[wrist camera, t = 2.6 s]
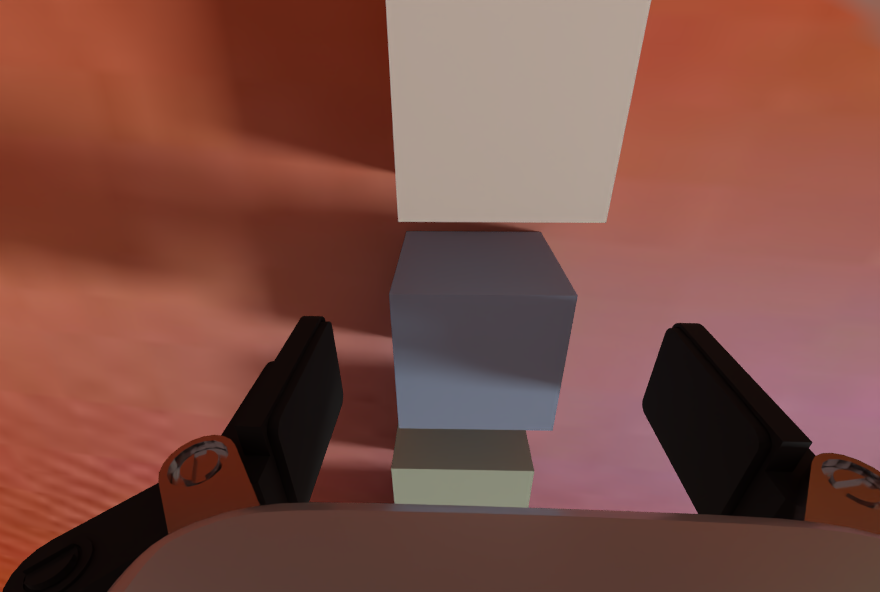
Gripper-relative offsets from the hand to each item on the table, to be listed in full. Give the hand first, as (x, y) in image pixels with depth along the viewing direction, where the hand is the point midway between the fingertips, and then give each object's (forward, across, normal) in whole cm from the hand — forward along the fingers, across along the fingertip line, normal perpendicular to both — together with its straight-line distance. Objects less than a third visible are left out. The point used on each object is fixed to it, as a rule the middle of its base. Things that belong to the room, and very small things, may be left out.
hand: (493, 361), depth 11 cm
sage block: (+5, +1, +8) cm, 9 cm away
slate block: (+5, 0, +1) cm, 5 cm away
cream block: (+5, 0, -6) cm, 8 cm away
